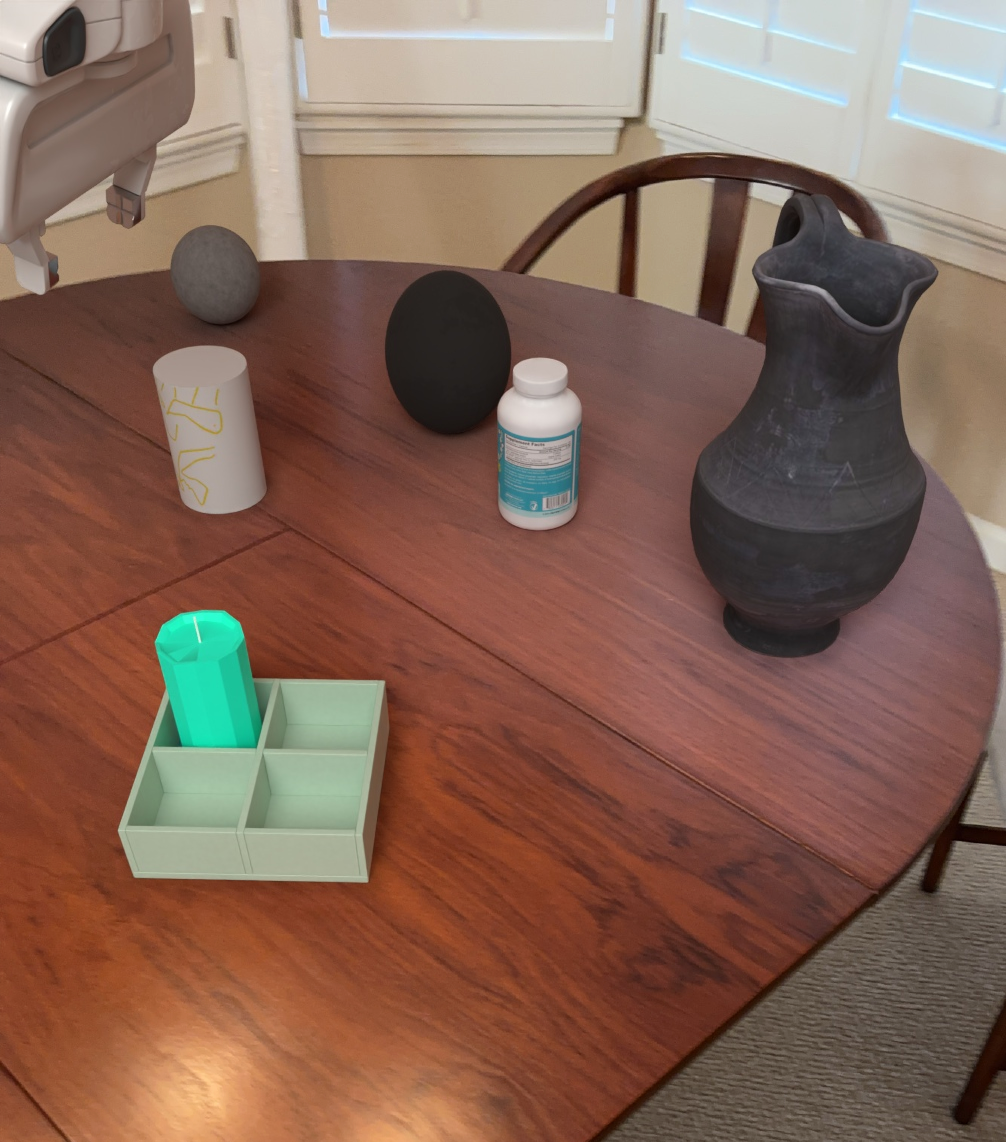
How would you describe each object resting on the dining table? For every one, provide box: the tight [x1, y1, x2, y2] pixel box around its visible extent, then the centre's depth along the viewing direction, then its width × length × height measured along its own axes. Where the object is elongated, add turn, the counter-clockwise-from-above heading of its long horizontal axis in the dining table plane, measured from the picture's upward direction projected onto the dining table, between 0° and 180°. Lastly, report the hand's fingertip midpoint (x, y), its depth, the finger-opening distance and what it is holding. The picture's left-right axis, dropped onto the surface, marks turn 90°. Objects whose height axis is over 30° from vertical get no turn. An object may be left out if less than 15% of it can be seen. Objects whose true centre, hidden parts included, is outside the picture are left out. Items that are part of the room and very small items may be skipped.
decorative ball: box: [169, 224, 262, 325], centre depth 134 cm, size 10×10×10 cm
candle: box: [154, 609, 262, 749], centre depth 82 cm, size 6×6×12 cm
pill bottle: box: [496, 357, 583, 531], centre depth 105 cm, size 8×7×14 cm
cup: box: [152, 345, 268, 515], centre depth 108 cm, size 8×8×12 cm
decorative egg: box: [384, 269, 512, 434], centre depth 115 cm, size 12×12×15 cm
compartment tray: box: [117, 677, 390, 884], centre depth 83 cm, size 16×16×5 cm
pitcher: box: [689, 192, 939, 658], centre depth 89 cm, size 17×21×30 cm
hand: (84, 252), depth 69 cm, fingers open, 8 cm apart
